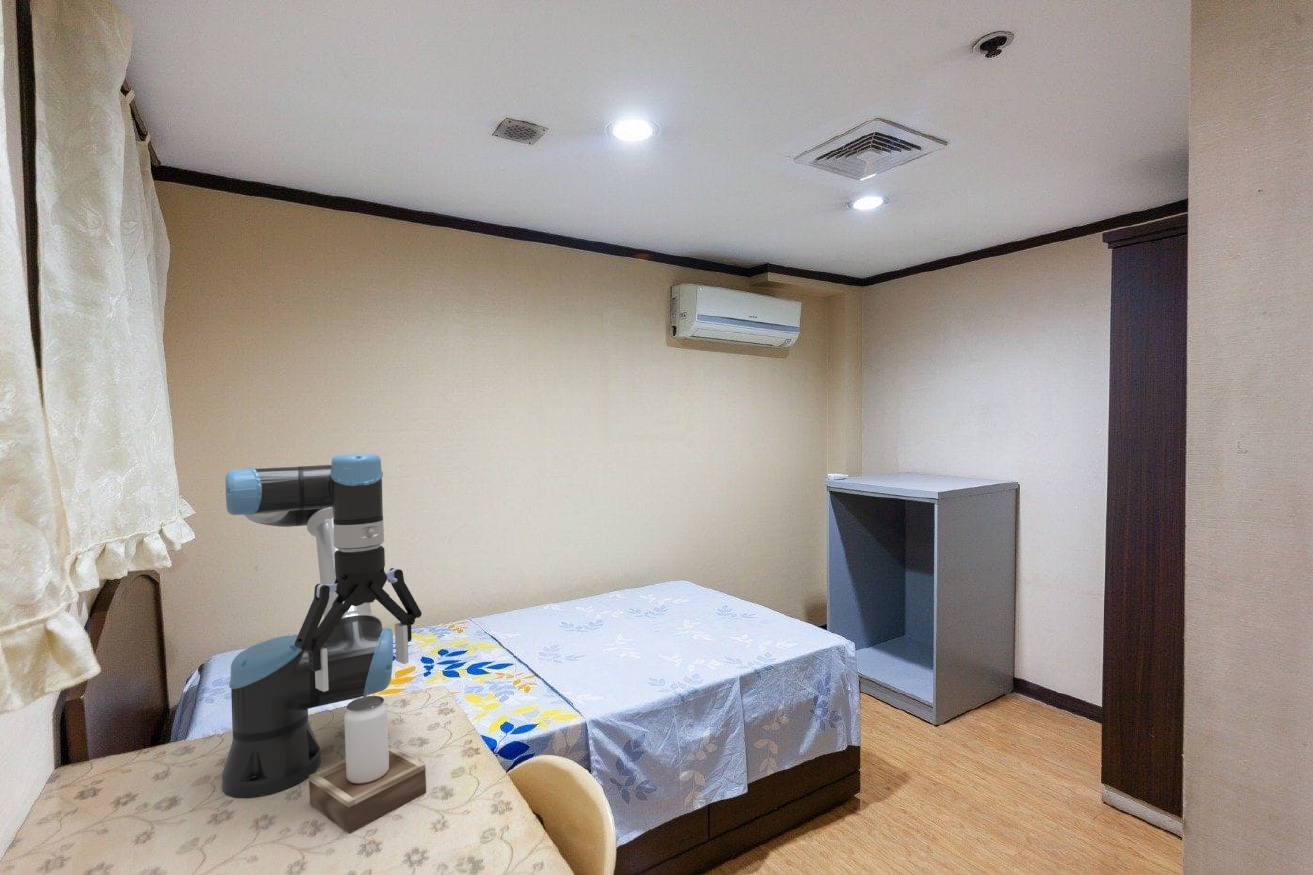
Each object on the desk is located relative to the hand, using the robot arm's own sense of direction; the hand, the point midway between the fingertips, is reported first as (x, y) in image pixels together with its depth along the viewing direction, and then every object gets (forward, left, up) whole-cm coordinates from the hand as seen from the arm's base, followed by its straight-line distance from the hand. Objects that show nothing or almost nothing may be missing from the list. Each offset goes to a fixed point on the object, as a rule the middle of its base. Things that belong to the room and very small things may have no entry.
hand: (364, 675), depth 105 cm
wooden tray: (0, 0, -21) cm, 21 cm away
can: (0, 0, -17) cm, 17 cm away
